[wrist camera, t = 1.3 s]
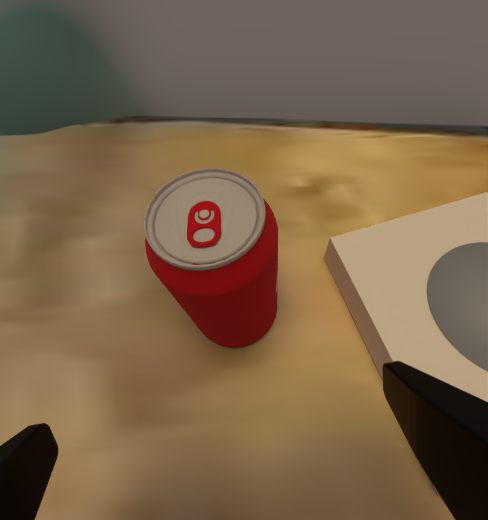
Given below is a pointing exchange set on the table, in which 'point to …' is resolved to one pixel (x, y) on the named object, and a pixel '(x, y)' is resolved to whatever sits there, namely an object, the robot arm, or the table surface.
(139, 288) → the table surface
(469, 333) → the base plate
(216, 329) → the beverage can
